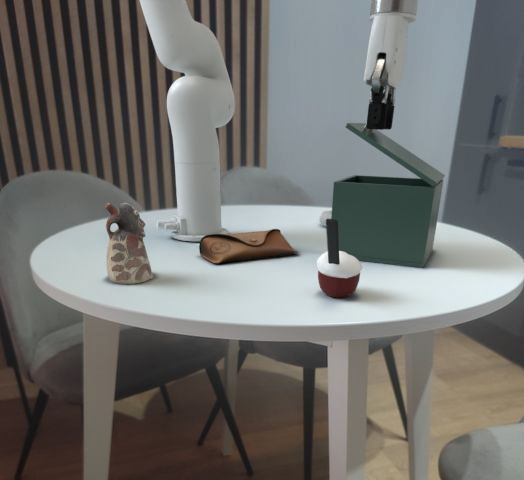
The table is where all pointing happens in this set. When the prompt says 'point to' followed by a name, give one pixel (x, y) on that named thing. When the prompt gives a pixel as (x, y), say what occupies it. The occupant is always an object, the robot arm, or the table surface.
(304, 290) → the table surface
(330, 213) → the donut
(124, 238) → the figurine
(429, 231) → the trash bin
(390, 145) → the bin lid
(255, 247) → the sunglasses case
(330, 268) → the cocoa
